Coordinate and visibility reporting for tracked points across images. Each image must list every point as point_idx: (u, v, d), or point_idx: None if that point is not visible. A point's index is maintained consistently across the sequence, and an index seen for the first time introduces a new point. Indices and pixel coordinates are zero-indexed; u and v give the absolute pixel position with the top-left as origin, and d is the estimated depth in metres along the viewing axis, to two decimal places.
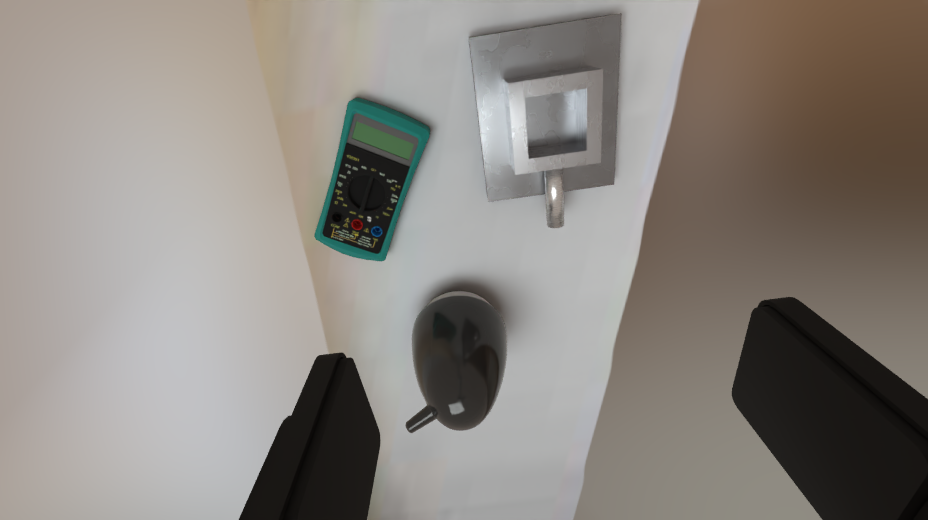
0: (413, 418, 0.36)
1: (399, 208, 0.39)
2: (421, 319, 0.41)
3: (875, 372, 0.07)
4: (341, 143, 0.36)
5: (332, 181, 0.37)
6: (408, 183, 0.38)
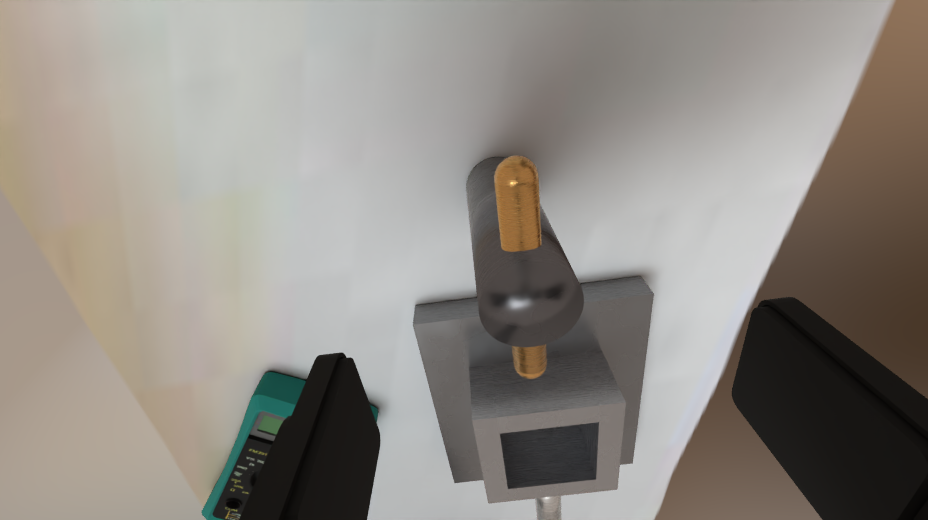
0: None
1: None
2: None
3: (875, 372, 0.07)
4: (241, 437, 0.24)
5: (226, 470, 0.25)
6: None
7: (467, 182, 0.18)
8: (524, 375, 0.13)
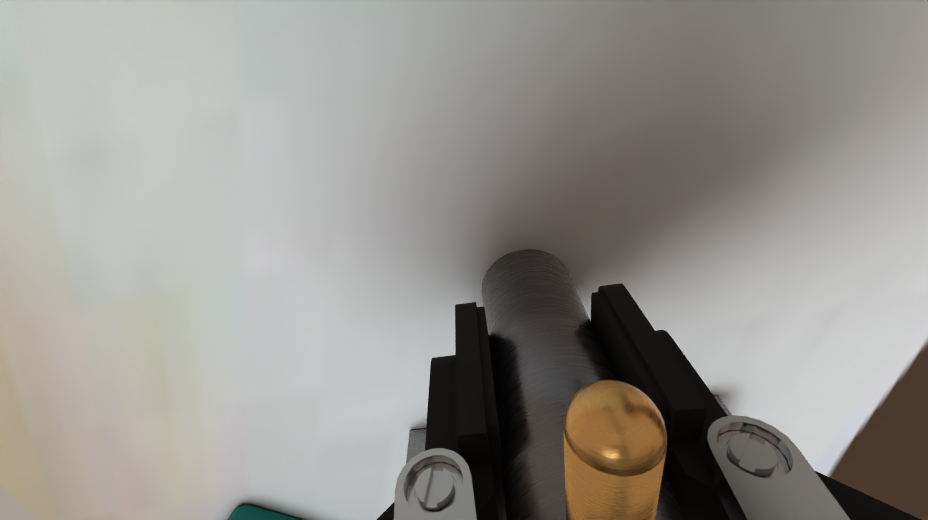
0: None
1: None
2: None
3: (649, 343, 0.08)
4: None
5: None
6: None
7: (484, 285, 0.12)
8: None
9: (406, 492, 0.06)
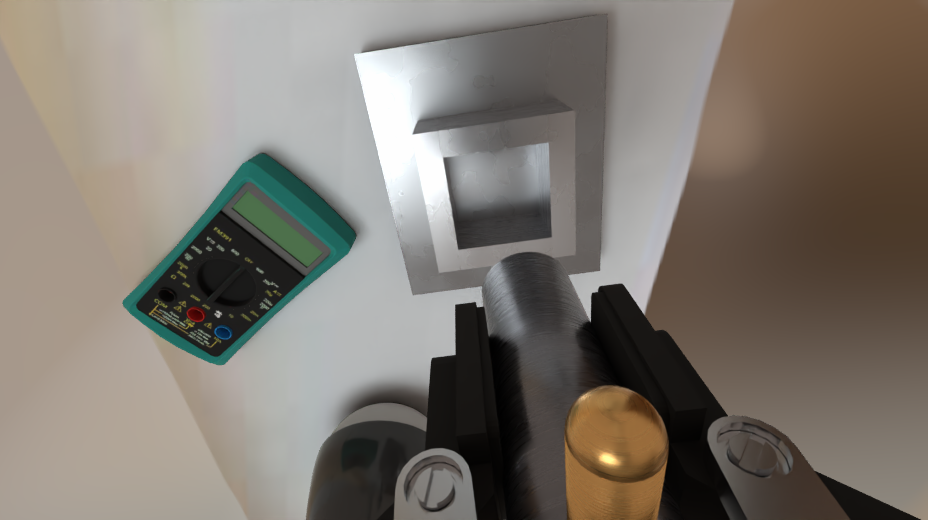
0: None
1: (269, 317, 0.26)
2: (321, 458, 0.28)
3: (649, 343, 0.08)
4: (212, 209, 0.23)
5: (177, 249, 0.24)
6: (294, 294, 0.26)
7: (484, 287, 0.12)
8: None
9: (406, 492, 0.06)
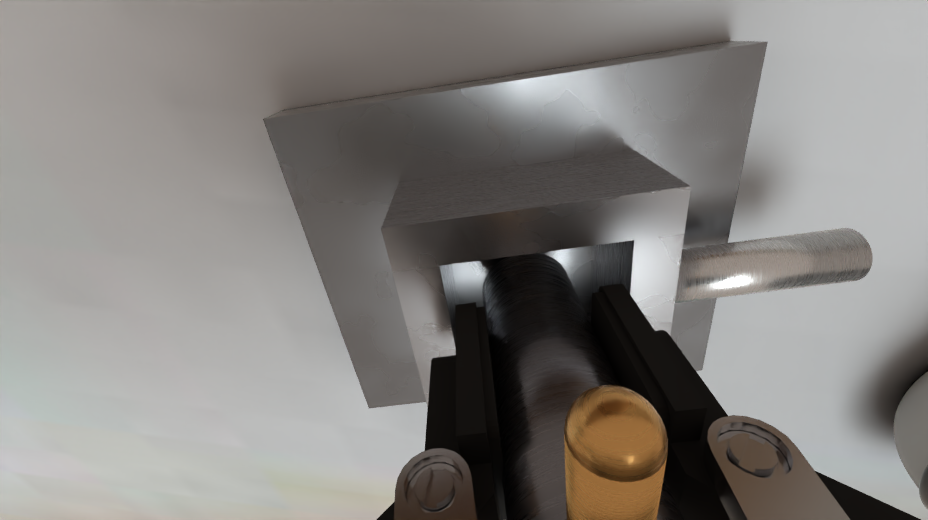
0: None
1: None
2: None
3: (649, 343, 0.08)
4: None
5: None
6: None
7: (484, 286, 0.12)
8: None
9: (406, 492, 0.06)
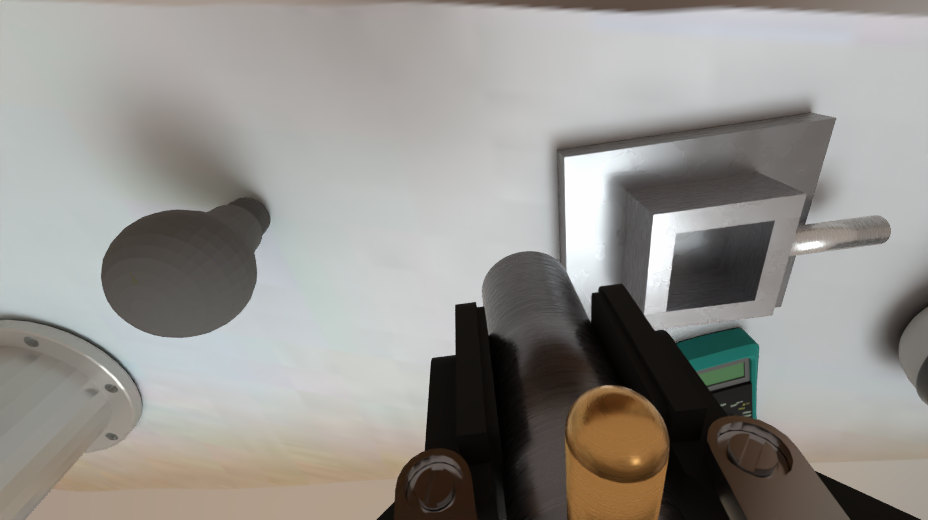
0: None
1: (756, 417, 0.31)
2: None
3: (649, 343, 0.08)
4: None
5: None
6: None
7: (484, 286, 0.12)
8: None
9: (406, 492, 0.06)
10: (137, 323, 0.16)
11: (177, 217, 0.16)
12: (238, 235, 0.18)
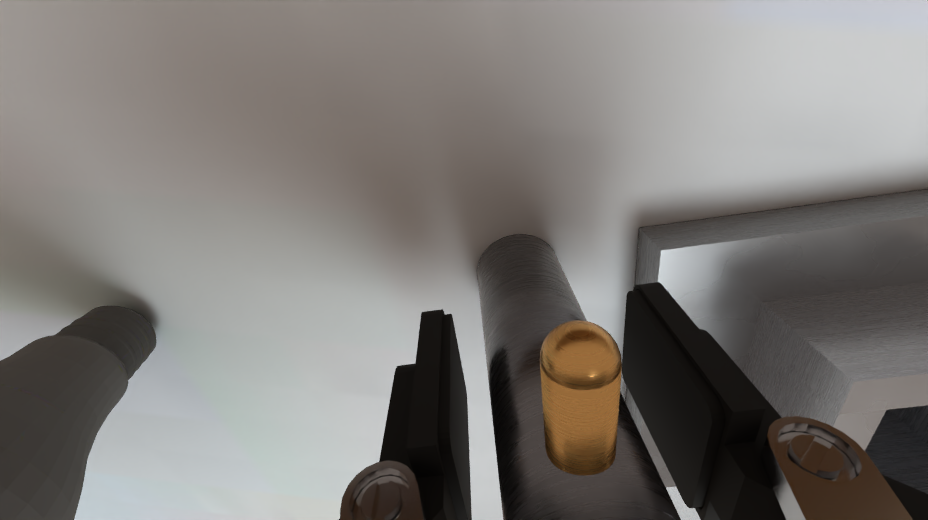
0: None
1: None
2: None
3: (696, 342, 0.08)
4: None
5: None
6: None
7: (479, 267, 0.14)
8: None
9: (353, 506, 0.06)
10: None
11: None
12: (12, 449, 0.09)
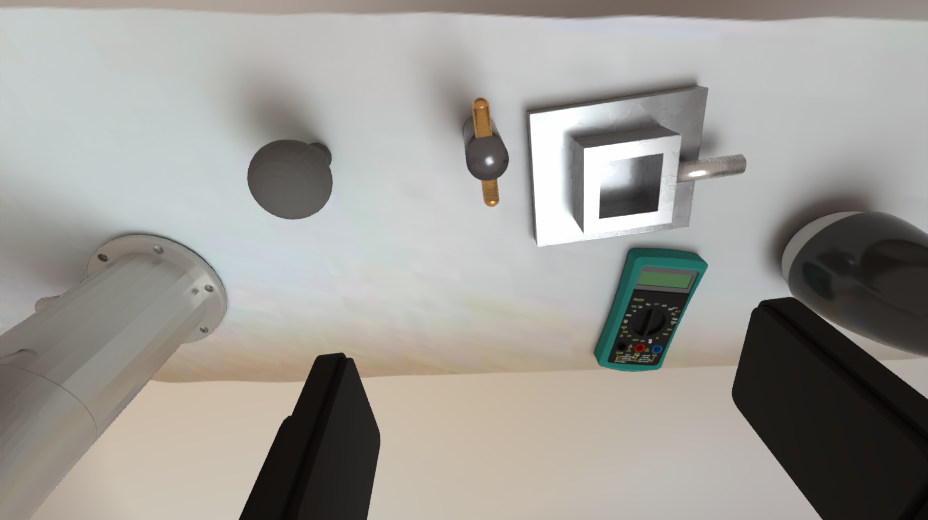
0: None
1: (677, 326, 0.43)
2: None
3: (875, 372, 0.07)
4: (629, 291, 0.40)
5: (618, 320, 0.42)
6: None
7: None
8: (488, 203, 0.29)
9: None
10: (270, 203, 0.27)
11: (291, 142, 0.27)
12: (323, 157, 0.29)
